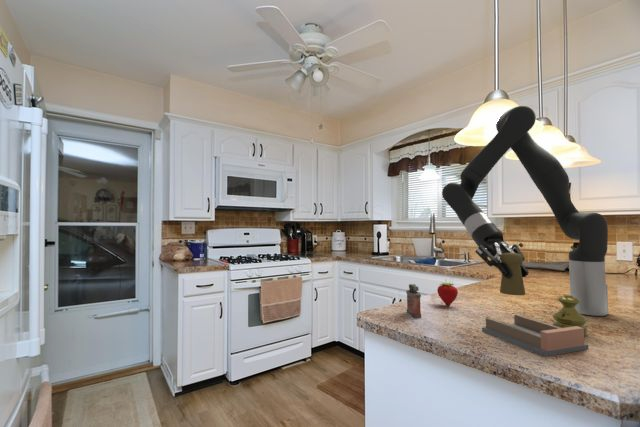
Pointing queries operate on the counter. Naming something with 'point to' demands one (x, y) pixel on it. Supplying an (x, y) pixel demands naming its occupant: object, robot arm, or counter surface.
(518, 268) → the cork
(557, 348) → the guide track
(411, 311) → the lighter
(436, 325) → the counter surface
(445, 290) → the strawberry
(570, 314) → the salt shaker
